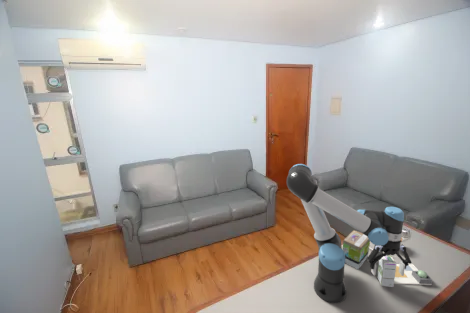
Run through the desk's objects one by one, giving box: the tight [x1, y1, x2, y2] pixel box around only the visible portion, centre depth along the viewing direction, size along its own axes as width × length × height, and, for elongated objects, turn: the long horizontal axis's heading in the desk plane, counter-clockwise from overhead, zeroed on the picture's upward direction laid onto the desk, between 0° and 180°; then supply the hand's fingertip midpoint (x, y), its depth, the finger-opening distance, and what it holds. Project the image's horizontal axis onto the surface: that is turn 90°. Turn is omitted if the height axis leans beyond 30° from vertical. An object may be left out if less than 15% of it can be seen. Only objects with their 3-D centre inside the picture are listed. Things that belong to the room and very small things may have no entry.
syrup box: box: [376, 255, 398, 288], centre depth 113 cm, size 6×6×14 cm
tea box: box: [342, 229, 371, 270], centre depth 130 cm, size 15×10×15 cm, turn 131°
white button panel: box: [394, 263, 433, 286], centre depth 119 cm, size 18×14×3 cm
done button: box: [417, 269, 428, 278], centre depth 114 cm, size 4×4×3 cm
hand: (387, 273), depth 114 cm, fingers open, 13 cm apart
